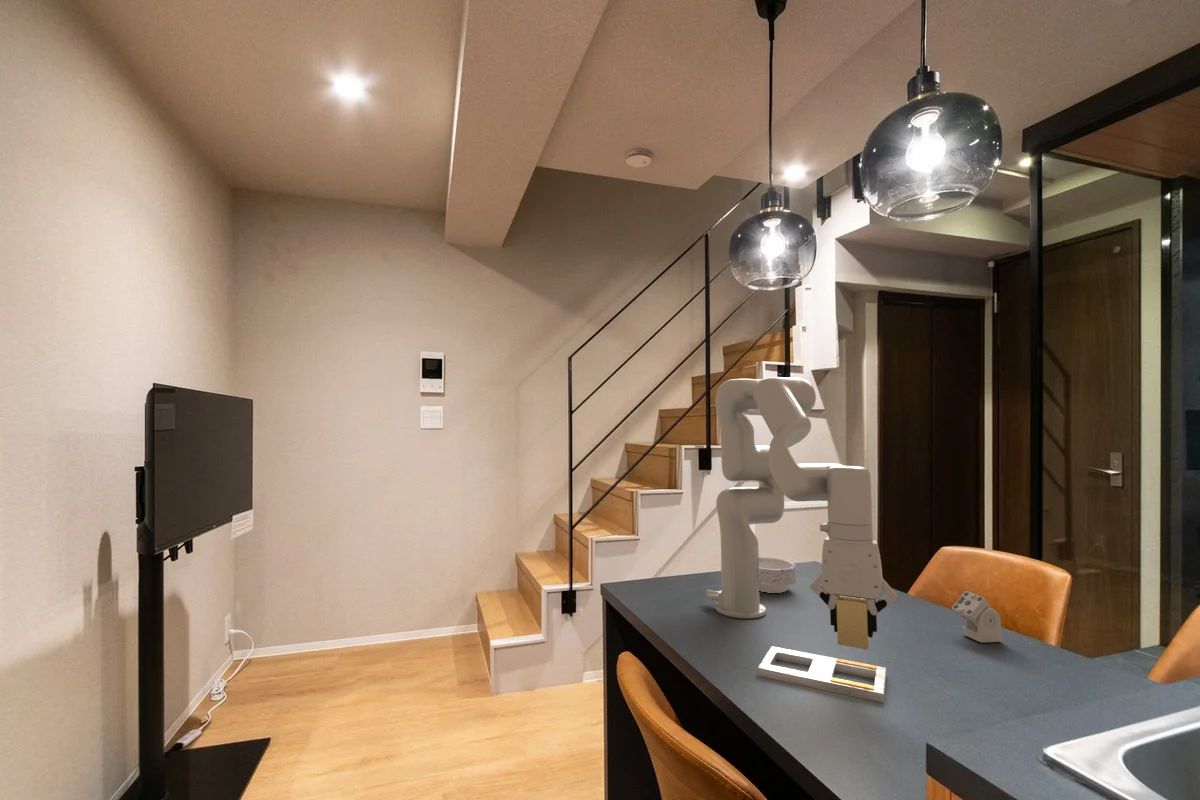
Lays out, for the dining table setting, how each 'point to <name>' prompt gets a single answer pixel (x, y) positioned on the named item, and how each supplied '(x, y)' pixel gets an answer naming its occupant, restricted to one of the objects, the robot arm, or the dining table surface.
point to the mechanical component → (978, 618)
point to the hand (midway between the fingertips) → (853, 631)
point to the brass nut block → (852, 622)
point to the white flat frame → (824, 673)
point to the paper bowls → (775, 575)
